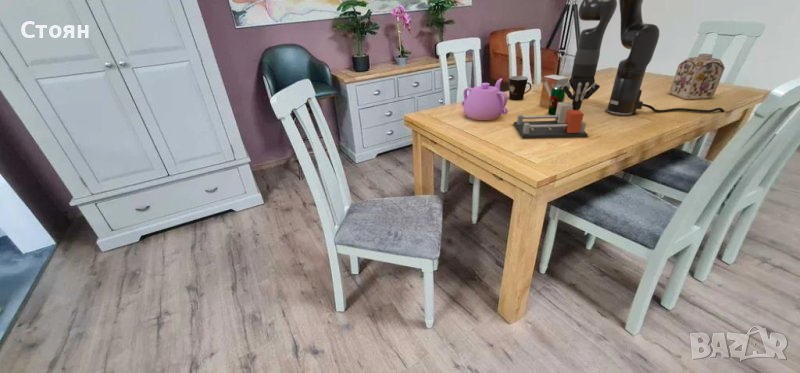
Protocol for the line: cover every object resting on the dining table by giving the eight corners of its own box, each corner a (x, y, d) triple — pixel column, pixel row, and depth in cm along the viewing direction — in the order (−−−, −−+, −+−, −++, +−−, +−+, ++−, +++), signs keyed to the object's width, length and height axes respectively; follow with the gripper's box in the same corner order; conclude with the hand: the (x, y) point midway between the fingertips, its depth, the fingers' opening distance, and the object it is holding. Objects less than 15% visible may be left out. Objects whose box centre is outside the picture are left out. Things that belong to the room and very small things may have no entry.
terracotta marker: (574, 128, 121) (578, 109, 117) (579, 132, 117) (583, 113, 114) (563, 128, 121) (567, 110, 118) (567, 133, 117) (571, 114, 114)
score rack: (571, 123, 130) (573, 111, 128) (587, 137, 117) (590, 124, 115) (513, 124, 132) (515, 113, 130) (522, 138, 119) (524, 126, 117)
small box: (539, 105, 152) (543, 76, 146) (549, 103, 154) (554, 74, 148) (552, 110, 146) (557, 79, 139) (563, 107, 148) (569, 77, 141)
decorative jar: (713, 98, 147) (731, 55, 138) (686, 100, 147) (702, 57, 138) (693, 92, 157) (708, 51, 148) (667, 93, 158) (681, 52, 149)
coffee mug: (504, 97, 167) (506, 76, 162) (521, 95, 167) (523, 75, 163) (513, 103, 157) (515, 81, 152) (530, 102, 157) (533, 80, 152)
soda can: (561, 116, 138) (567, 86, 132) (548, 116, 139) (553, 86, 133) (559, 112, 142) (564, 83, 136) (546, 112, 143) (551, 83, 137)
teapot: (521, 112, 145) (525, 79, 138) (496, 126, 132) (499, 91, 125) (477, 104, 158) (479, 74, 152) (450, 116, 145) (451, 84, 138)
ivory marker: (565, 119, 130) (568, 102, 126) (569, 123, 126) (573, 105, 122) (554, 119, 130) (557, 102, 126) (558, 123, 126) (561, 105, 123)
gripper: (570, 64, 114) (560, 113, 123) (610, 62, 113) (598, 112, 121) (562, 60, 121) (554, 107, 129) (601, 59, 119) (589, 107, 128)
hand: (575, 110), depth 125 cm, fingers closed
